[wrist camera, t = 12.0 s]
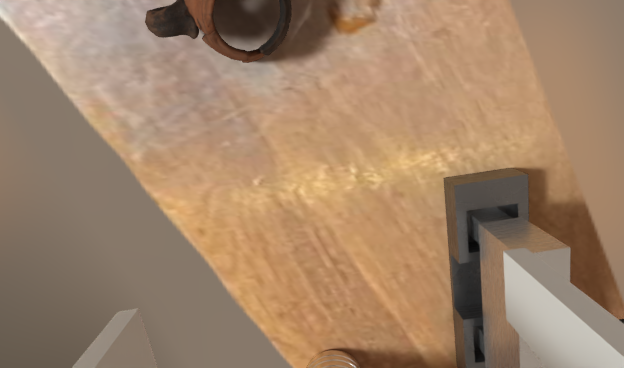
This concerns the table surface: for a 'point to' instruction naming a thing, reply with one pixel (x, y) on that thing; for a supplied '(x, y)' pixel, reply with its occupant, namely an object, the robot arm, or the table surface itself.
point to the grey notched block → (493, 241)
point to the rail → (475, 246)
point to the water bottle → (333, 360)
